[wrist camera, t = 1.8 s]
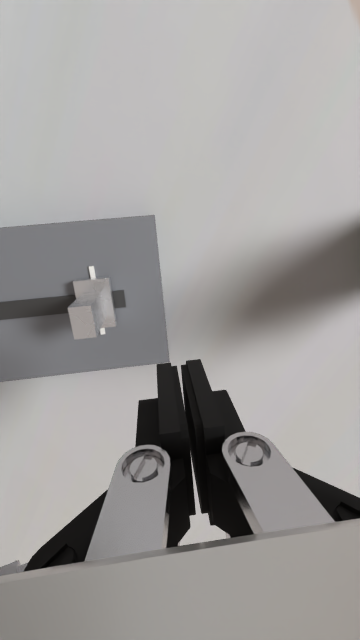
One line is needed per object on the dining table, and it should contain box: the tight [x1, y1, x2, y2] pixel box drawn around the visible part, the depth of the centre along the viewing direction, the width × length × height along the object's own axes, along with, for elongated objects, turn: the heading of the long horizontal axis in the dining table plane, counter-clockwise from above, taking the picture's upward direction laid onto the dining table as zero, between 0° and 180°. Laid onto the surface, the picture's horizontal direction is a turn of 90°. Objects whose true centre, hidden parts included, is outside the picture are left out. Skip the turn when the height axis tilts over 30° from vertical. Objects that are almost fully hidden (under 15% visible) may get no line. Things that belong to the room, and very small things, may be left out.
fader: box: [68, 277, 117, 340], centre depth 23 cm, size 4×3×6 cm
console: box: [0, 215, 170, 382], centre depth 26 cm, size 14×26×4 cm, turn 95°
